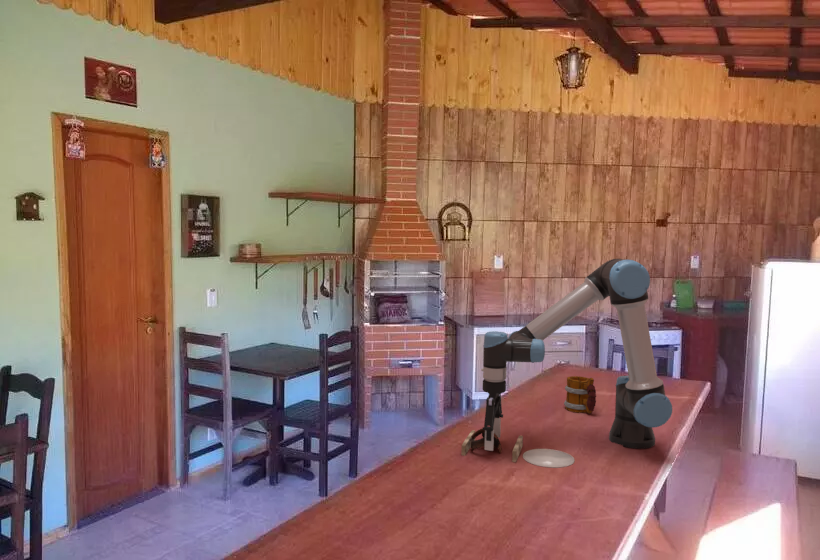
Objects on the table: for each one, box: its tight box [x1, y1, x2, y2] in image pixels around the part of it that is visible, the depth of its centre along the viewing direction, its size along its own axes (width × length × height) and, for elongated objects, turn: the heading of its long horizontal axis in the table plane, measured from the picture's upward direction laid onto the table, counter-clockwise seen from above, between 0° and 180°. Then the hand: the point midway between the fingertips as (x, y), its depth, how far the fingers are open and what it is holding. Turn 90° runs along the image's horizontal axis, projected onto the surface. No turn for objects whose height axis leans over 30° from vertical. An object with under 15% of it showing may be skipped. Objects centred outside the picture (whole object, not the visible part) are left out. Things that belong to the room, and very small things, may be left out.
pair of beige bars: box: [461, 429, 524, 463], centre depth 206 cm, size 16×17×4 cm
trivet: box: [522, 448, 575, 469], centre depth 200 cm, size 16×16×1 cm
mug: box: [563, 375, 597, 415], centre depth 253 cm, size 11×16×15 cm, turn 18°
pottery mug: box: [470, 428, 503, 454], centre depth 206 cm, size 12×9×8 cm
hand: (492, 443), depth 206 cm, fingers open, 13 cm apart
